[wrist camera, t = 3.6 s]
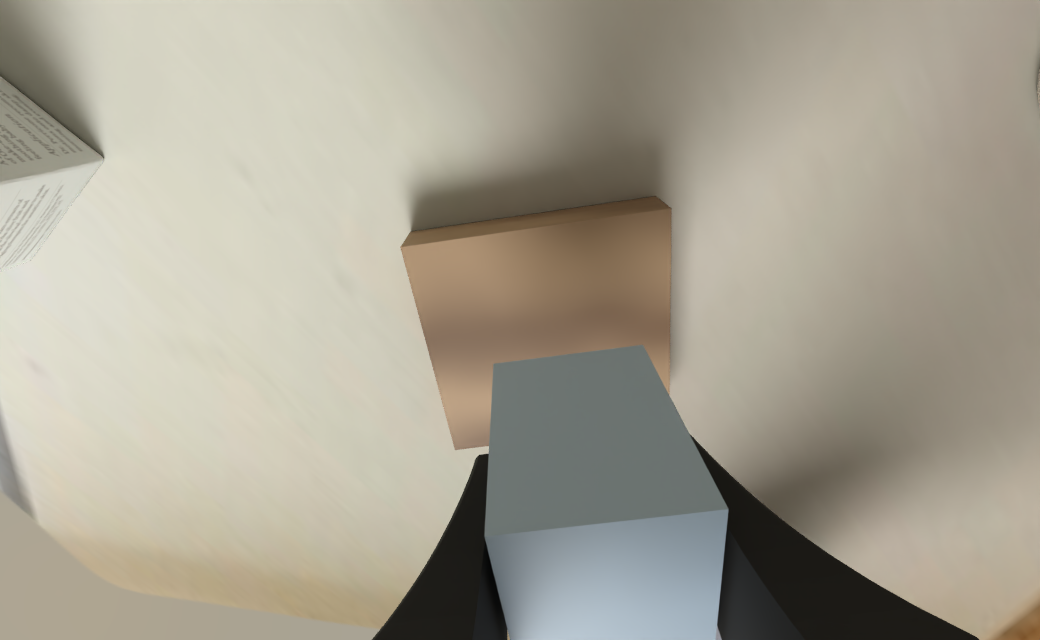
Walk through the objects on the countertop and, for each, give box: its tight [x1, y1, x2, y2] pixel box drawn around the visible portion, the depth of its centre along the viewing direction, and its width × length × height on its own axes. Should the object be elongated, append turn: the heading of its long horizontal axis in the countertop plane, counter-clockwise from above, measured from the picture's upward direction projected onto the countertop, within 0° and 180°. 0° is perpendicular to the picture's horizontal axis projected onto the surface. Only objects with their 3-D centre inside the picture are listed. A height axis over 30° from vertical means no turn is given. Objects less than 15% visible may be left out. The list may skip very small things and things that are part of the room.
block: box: [484, 345, 729, 640], centre depth 12 cm, size 4×4×6 cm
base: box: [401, 196, 671, 450], centre depth 20 cm, size 10×10×2 cm
